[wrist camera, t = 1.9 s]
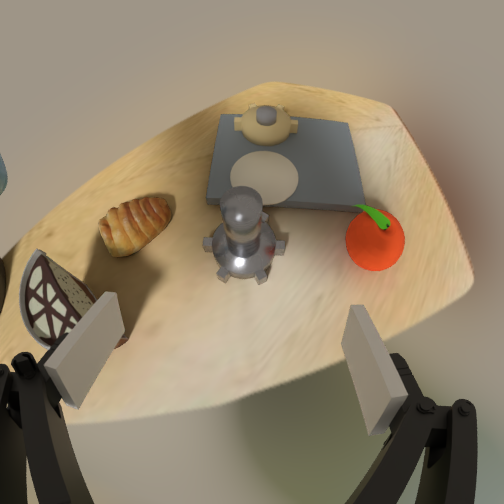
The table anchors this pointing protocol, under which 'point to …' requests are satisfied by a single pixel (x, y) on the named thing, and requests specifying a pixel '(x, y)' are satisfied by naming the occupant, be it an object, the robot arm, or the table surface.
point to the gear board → (286, 160)
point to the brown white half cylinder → (52, 300)
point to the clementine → (374, 239)
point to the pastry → (133, 225)
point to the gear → (243, 237)
